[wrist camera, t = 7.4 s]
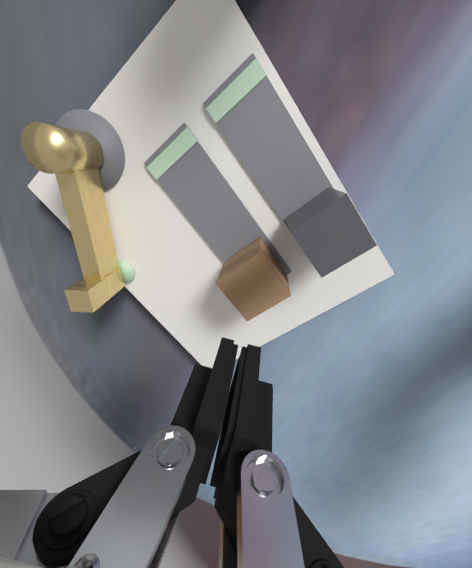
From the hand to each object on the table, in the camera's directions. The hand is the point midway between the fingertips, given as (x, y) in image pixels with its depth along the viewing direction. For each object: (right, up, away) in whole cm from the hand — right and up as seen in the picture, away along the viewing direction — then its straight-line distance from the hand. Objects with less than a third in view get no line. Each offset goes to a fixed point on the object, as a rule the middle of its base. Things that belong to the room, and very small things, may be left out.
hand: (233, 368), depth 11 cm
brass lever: (-12, +10, +12) cm, 20 cm away
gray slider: (+7, +9, +10) cm, 15 cm away
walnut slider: (+2, +5, +13) cm, 14 cm away
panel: (-2, +9, +14) cm, 17 cm away
